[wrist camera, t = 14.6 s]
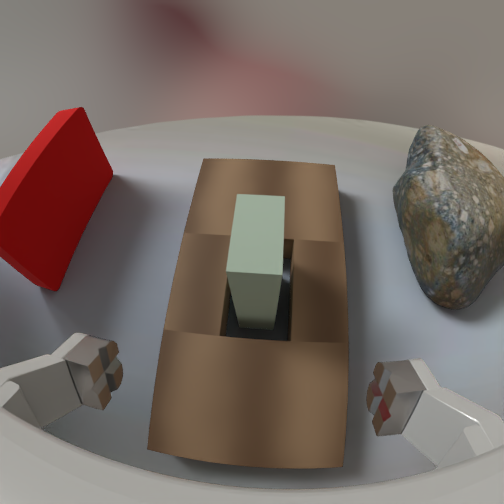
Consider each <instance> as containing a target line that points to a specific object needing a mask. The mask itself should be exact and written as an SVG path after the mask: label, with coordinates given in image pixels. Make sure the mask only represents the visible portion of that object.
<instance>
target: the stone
mask: <svg viewBox="0 0 504 504" xmlns="http://www.w3.org/2000/svg"><path fill="white" fill-rule="evenodd" d="M393 199H394V205H395V209H396V212H397V217H398V222H399V227H400V229H401V232H402V234H403V237H404V242H405V246H406V249H407V253H408V258H409V261H410V263H411V266H412V269H413V271H414V273H415V276H416V278H417V280H418V283H419V285H420V287H421V288H422V290H423V291H424V292H425V293H426V294H427V295H428V296H429V298H430V299H431V300H433V301H434V302H435V303H437V304H438V305H441V306H444V307H446V308H449V309H462V308H465V307H467V306H469V305H471V304H472V303H473V302H474V301H475V300H476V299H477V298H478V296H479V295H480V293H481V292H482V290H483V289H484V287H485V286H486V285H487V284H488V282H489V281H490V279H491V278H492V277H493V276H494V274H495V273H496V272H497V271H498V270H499V269H500V268H501V267H502V266H503V265H504V177H503V176H502V175H501V174H500V172H499V171H498V170H497V169H496V168H495V166H494V165H493V164H492V163H491V162H490V161H489V160H488V159H487V158H486V157H485V156H484V155H483V154H482V153H480V152H479V151H478V150H477V149H475V148H474V147H473V146H472V145H470V144H469V143H467V142H466V141H465V140H463V139H461V138H460V137H458V136H456V135H454V134H451V133H449V132H447V131H444V130H443V129H440V128H438V127H435V126H430V125H426V126H423V127H421V128H420V129H419V130H418V132H417V134H416V135H415V138H414V140H413V143H412V145H411V146H410V149H409V154H408V159H407V166H406V170H405V172H404V173H403V175H402V176H401V177H400V179H399V180H398V182H397V183H396V185H395V186H394V188H393Z"/></svg>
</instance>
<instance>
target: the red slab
mask: <svg viewBox="0 0 504 504" xmlns="http://www.w3.org/2000/svg"><path fill="white" fill-rule="evenodd" d="M112 176H113V170H112V168H111V166H110V164H109V162H108V160H107V158H106V156H105V154H104V152H103V149H102V147H101V145H100V143H99V141H98V139H97V137H96V135H95V132H94V130H93V128H92V126H91V124H90V122H89V119H88V117H87V115H86V112H85V110H84V108H82V107H79V108H73V109H68V110H63V111H59V112H58V113H56V115H55V116H54V117H53V118H52V119H51V120H50V121H49V123H48V124H47V125H46V126H45V127H44V128H43V130H42V131H41V132H40V133H39V135H38V136H37V137H36V138H35V139H34V141H33V142H32V143H31V144H30V146H29V147H28V148H27V150H26V151H25V152H24V154H23V155H22V156H21V158H20V159H19V160H18V162H17V163H16V165H15V166H14V167H13V169H12V170H11V172H10V173H9V175H8V176H7V178H6V179H5V181H4V182H3V184H2V185H1V187H0V257H1V258H3V259H4V260H5V261H6V262H7V263H9V264H10V265H11V266H12V267H13V268H15V269H16V270H17V271H18V272H20V273H21V274H22V275H23V276H25V277H26V278H27V279H29V280H30V281H31V282H32V283H34V284H35V285H37V286H40V287H43V288H46V289H49V290H52V291H57V290H58V289H59V287H60V285H61V283H62V280H63V278H64V275H65V273H66V270H67V268H68V265H69V263H70V261H71V258H72V256H73V254H74V251H75V249H76V247H77V245H78V243H79V240H80V238H81V236H82V234H83V232H84V230H85V228H86V226H87V224H88V222H89V220H90V218H91V216H92V214H93V212H94V210H95V208H96V206H97V204H98V202H99V200H100V198H101V197H102V195H103V193H104V191H105V189H106V187H107V186H108V184H109V182H110V180H111V179H112Z"/></svg>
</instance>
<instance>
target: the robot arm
mask: <svg viewBox="0 0 504 504" xmlns="http://www.w3.org/2000/svg"><path fill="white" fill-rule="evenodd" d="M118 353H119V351H118V347H117V344H116V343H115V342H114V341H112V340H108V339H103V338H99V337H95V336H91V335H87V334H83V333H74V334H73V335H72V336H71V337H70V338H69V339H67V340H66V341H65V342H64V343H63V344H62V345H61V346H60V347H59V348H58V349H56V350H55V351H54V352H53V353H52V354H51V355H48V354H46V355H43V356H39V357H36V358H33V359H30V360H26V361H23V362H20V363H16V364H13V365H10V366H6V367H3V368H0V504H504V422H503V421H502V419H501V418H500V416H499V415H497V414H495V413H493V412H491V411H489V410H487V409H485V408H483V407H481V406H480V405H478V404H476V403H474V402H472V401H470V400H468V399H466V398H464V397H462V396H460V395H459V394H457V393H455V392H453V391H451V390H449V389H447V388H441V387H440V385H439V383H438V382H437V380H436V379H435V377H434V376H433V374H432V373H431V371H430V370H429V368H428V367H427V365H426V364H425V362H424V361H423V360H422V359H420V358H419V359H410V360H404V361H390V362H378V363H377V364H376V366H375V369H374V372H373V374H374V376H375V379H374V380H373V381H372V382H371V383H370V384H369V387H368V390H367V399H366V401H367V407H368V410H369V412H370V413H372V414H373V415H374V418H373V420H372V423H373V426H374V429H375V432H376V435H377V436H386V435H395V434H401V435H402V436H403V437H404V438H405V439H406V440H408V441H409V442H410V443H411V444H412V445H413V446H414V447H415V448H417V449H418V450H419V451H420V452H421V453H422V454H423V455H425V456H426V457H427V458H428V459H429V460H430V461H431V462H433V463H434V464H435V465H436V466H437V467H436V468H435V470H432V471H429V472H425V473H421V474H417V475H413V476H408V477H404V478H399V479H394V480H389V481H383V482H377V483H370V484H363V485H355V486H346V487H335V488H321V489H261V488H246V487H235V486H226V485H218V484H211V483H204V482H198V481H192V480H187V479H182V478H177V477H172V476H168V475H164V474H159V473H155V472H151V471H148V470H144V469H140V468H137V467H133V466H130V465H127V464H124V463H120V462H117V461H114V460H111V459H108V458H106V457H103V456H100V455H97V454H95V453H92V452H90V451H87V450H84V449H82V448H80V447H77V446H75V445H72V444H70V443H68V442H66V441H63V440H61V439H59V438H57V437H55V436H53V435H51V434H49V433H47V432H45V431H43V430H42V427H44V426H46V425H48V424H50V423H51V422H53V421H55V420H57V419H59V418H60V417H62V416H64V415H66V414H68V413H69V412H71V411H73V410H75V409H76V408H78V407H80V406H82V404H83V405H86V406H89V407H93V408H96V409H99V410H104V409H105V407H106V406H107V404H108V403H109V401H110V400H111V398H112V397H111V393H110V392H113V391H115V390H117V389H118V387H119V386H120V384H121V381H122V377H123V368H122V364H121V362H120V361H119V360H118V359H117V357H116V356H117V355H118Z"/></svg>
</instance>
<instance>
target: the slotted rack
mask: <svg viewBox="0 0 504 504" xmlns="http://www.w3.org/2000/svg"><path fill="white" fill-rule="evenodd" d="M237 194H249V195H269V196H285V213H284V245H283V258H286V259H291V262H290V293H289V318H288V338H287V341H276V340H261V339H247V338H235V337H226V330H227V322H228V314H229V305H230V297H231V290H230V286H229V282H228V278H227V274H226V267H227V260H228V253H229V246H230V239H231V232H232V225H233V218H234V212H235V205H236V198H237ZM348 363H349V341H348V301H347V280H346V264H345V251H344V239H343V228H342V218H341V209H340V201H339V192H338V185H337V177H336V170H335V165H327V164H316V163H304V162H290V161H274V160H252V159H203V162H202V166H201V169H200V173H199V176H198V180H197V184H196V187H195V191H194V195H193V199H192V202H191V206H190V210H189V214H188V218H187V222H186V226H185V230H184V234H183V239H182V243H181V247H180V252H179V256H178V260H177V265H176V270H175V274H174V279H173V284H172V288H171V293H170V298H169V303H168V309H167V314H166V319H165V325H164V330H163V336H162V342H161V348H160V354H159V360H158V366H157V373H156V380H155V387H154V394H153V402H152V410H151V418H150V427H149V436H148V447H147V449H148V450H152V451H156V452H160V453H165V454H169V455H174V456H179V457H184V458H189V459H195V460H200V461H207V462H214V463H221V464H229V465H238V466H249V467H264V468H333V467H343V459H344V448H345V436H346V421H347V402H348Z"/></svg>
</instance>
